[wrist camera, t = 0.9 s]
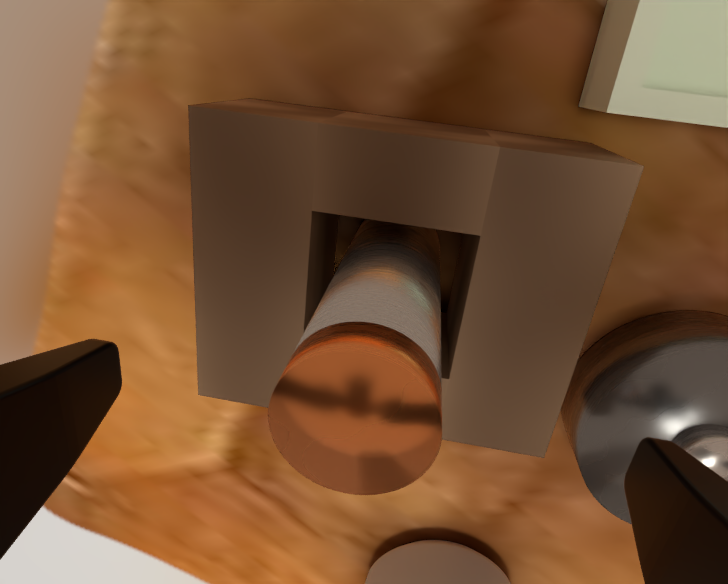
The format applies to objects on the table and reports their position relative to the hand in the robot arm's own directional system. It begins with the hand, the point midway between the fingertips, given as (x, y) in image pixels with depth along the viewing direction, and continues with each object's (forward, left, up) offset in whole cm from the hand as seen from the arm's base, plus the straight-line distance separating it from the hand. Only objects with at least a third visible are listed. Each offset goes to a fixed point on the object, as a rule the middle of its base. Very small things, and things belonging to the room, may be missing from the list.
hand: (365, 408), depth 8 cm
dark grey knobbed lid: (-10, +4, -8) cm, 14 cm away
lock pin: (0, 0, -8) cm, 8 cm away
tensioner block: (0, 0, -8) cm, 8 cm away
